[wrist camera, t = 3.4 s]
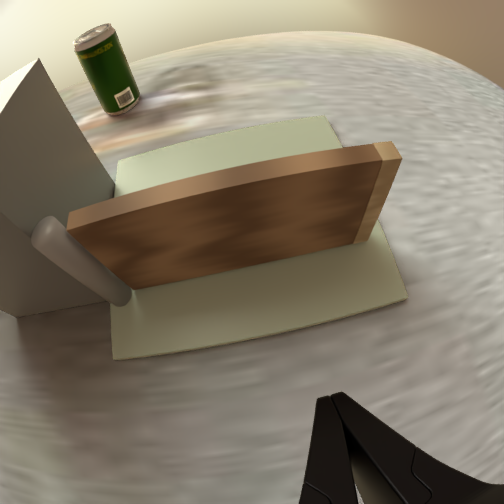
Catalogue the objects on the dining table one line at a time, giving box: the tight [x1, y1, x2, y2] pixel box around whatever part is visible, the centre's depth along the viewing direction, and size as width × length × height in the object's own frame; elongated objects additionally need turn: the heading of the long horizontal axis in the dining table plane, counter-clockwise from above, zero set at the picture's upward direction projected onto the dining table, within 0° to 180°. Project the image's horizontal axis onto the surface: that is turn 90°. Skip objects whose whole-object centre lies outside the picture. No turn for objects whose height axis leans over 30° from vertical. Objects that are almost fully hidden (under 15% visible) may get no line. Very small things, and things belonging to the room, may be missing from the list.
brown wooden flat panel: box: [66, 141, 402, 290], centre depth 19 cm, size 18×1×9 cm, turn 101°
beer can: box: [74, 23, 140, 116], centre depth 30 cm, size 5×5×12 cm
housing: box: [0, 58, 408, 360], centre depth 18 cm, size 34×20×16 cm, turn 101°
